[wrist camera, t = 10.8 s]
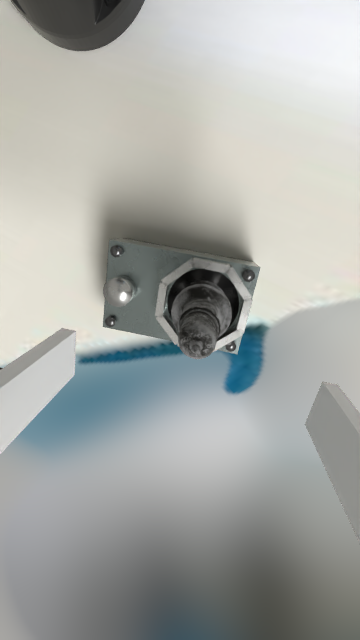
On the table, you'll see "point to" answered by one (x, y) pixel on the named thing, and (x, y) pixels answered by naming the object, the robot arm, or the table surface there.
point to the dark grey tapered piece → (200, 318)
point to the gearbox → (171, 288)
